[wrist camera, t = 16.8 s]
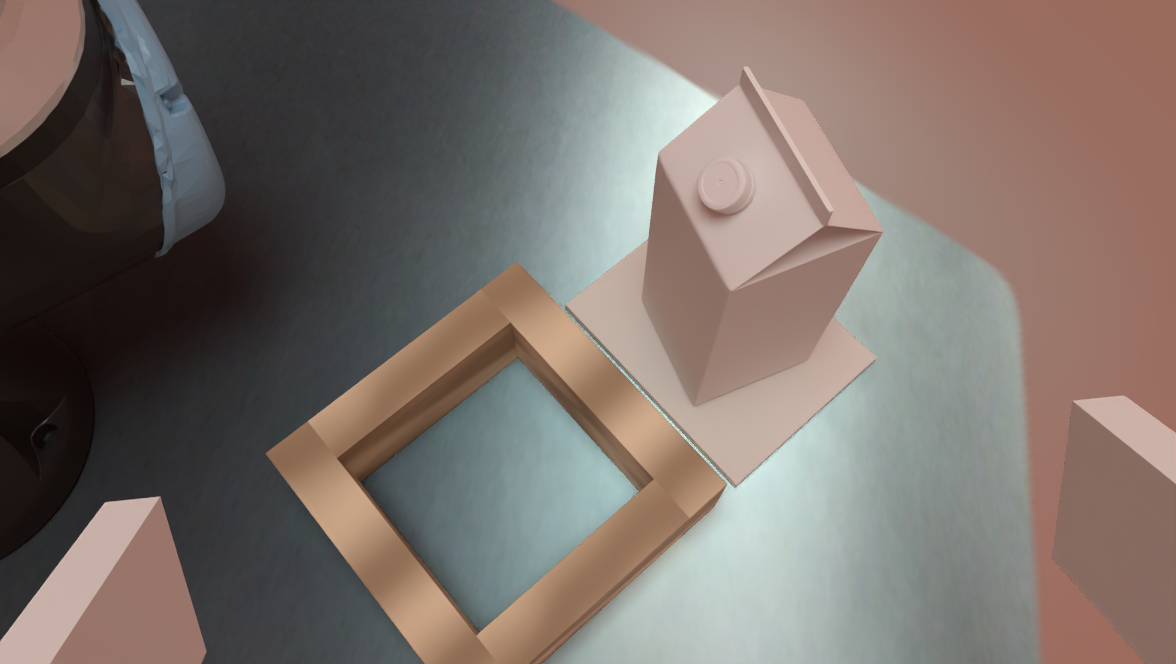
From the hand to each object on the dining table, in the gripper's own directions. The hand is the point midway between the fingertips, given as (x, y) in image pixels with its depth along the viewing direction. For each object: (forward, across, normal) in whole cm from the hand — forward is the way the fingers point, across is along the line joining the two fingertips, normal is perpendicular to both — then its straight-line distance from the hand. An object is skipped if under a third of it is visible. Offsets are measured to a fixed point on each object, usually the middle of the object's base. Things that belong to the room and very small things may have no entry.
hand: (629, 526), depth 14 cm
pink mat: (+37, +8, -13) cm, 40 cm away
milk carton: (+37, +9, -13) cm, 40 cm away
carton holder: (+32, -4, -19) cm, 37 cm away
